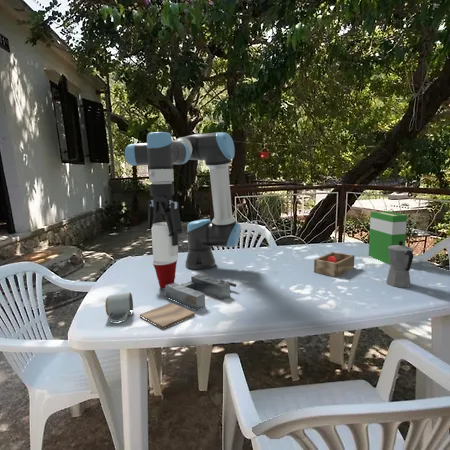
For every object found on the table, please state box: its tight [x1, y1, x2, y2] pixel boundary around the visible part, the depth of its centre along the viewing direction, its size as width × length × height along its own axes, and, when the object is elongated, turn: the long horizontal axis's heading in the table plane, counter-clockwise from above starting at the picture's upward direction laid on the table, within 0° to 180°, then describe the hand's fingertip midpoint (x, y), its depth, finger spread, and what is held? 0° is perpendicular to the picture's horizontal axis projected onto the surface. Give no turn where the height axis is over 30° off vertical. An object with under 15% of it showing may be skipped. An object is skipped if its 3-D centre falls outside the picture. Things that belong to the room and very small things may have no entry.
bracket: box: [327, 256, 345, 275], centre depth 156 cm, size 12×4×8 cm, turn 13°
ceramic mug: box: [104, 291, 134, 322], centre depth 112 cm, size 11×8×8 cm
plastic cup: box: [151, 258, 179, 289], centre depth 139 cm, size 11×11×12 cm
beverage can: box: [150, 221, 179, 263], centre depth 108 cm, size 8×8×12 cm
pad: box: [139, 302, 196, 329], centre depth 112 cm, size 13×13×1 cm
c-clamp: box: [164, 274, 237, 311], centre depth 130 cm, size 18×23×5 cm
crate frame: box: [313, 251, 355, 278], centre depth 156 cm, size 11×18×6 cm, turn 136°
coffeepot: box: [386, 241, 414, 288], centre depth 134 cm, size 15×9×18 cm, turn 179°
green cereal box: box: [368, 210, 408, 266], centre depth 169 cm, size 18×7×24 cm, turn 10°
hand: (165, 253), depth 109 cm, fingers closed on beverage can, 8 cm apart
